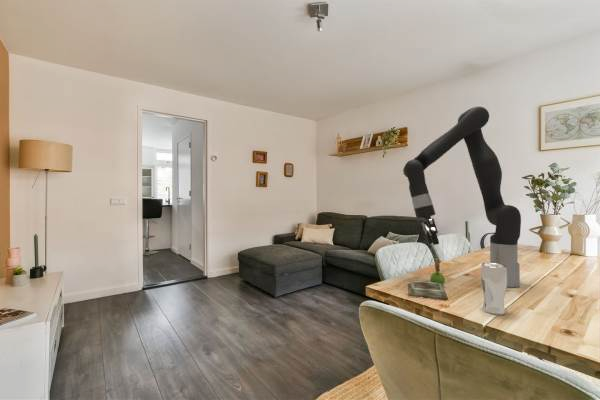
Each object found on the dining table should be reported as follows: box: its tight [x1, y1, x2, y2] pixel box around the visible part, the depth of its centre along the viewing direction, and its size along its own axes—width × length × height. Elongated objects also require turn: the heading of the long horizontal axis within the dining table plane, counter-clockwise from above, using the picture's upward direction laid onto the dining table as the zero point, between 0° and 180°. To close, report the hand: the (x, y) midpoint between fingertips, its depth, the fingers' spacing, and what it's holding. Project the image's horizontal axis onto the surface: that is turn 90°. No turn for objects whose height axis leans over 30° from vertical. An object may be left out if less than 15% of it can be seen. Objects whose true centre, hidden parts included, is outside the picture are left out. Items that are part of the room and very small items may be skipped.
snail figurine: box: [429, 254, 446, 286], centre depth 115 cm, size 5×6×12 cm
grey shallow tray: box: [407, 280, 449, 301], centre depth 106 cm, size 13×12×3 cm
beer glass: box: [480, 262, 508, 316], centre depth 89 cm, size 7×7×15 cm
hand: (433, 243), depth 114 cm, fingers open, 8 cm apart
